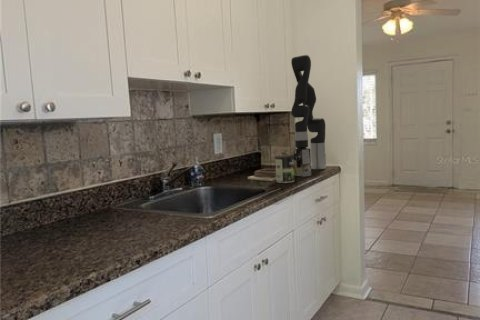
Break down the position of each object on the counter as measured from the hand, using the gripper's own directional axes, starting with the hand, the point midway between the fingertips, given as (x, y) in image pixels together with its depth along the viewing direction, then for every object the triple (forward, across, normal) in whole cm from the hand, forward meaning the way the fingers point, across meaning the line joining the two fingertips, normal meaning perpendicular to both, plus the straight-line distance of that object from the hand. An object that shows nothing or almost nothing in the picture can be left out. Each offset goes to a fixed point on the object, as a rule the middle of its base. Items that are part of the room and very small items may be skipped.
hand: (302, 166), depth 229 cm
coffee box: (+6, 0, 0) cm, 6 cm away
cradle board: (+5, +14, -14) cm, 20 cm away
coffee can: (+6, +21, +3) cm, 22 cm away
